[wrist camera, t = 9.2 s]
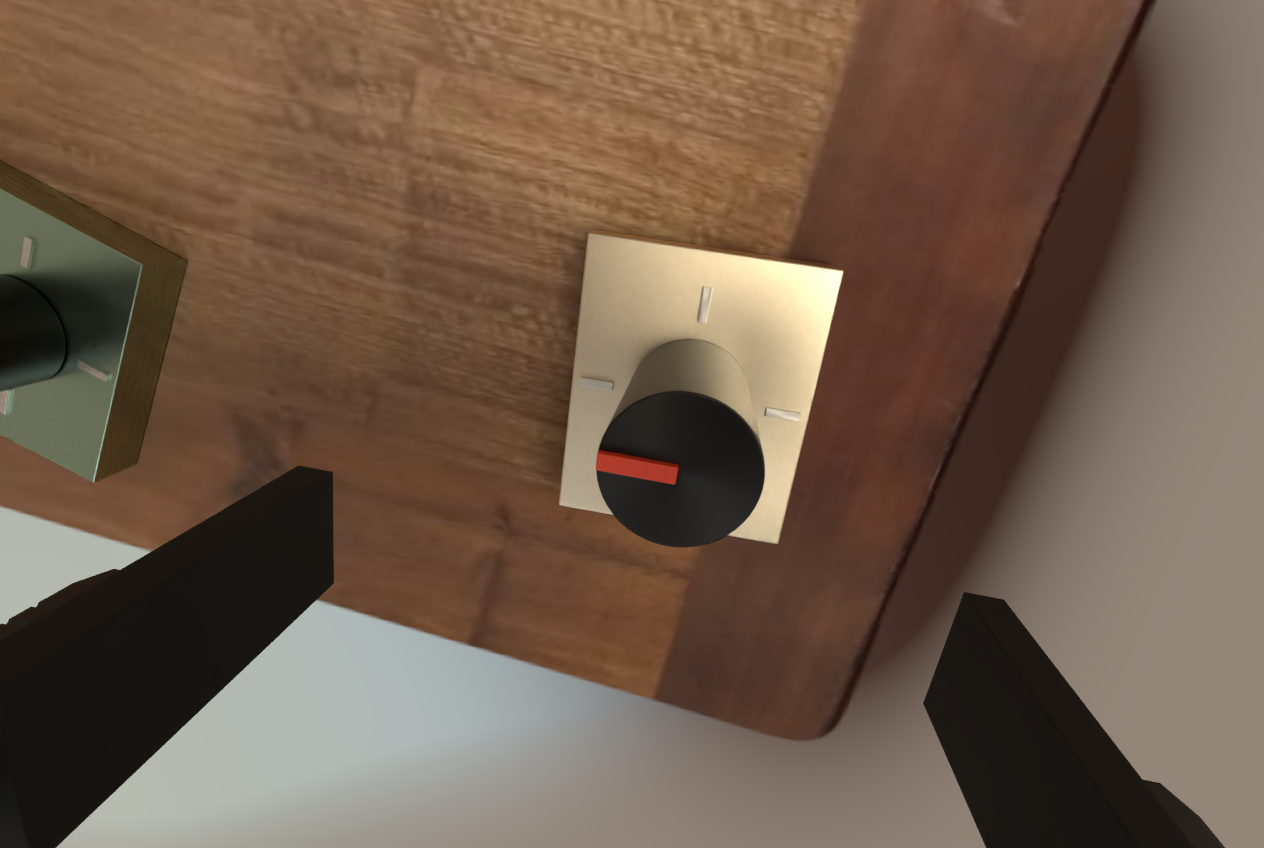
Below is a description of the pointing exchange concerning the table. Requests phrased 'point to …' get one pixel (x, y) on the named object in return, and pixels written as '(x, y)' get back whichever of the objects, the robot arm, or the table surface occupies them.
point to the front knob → (683, 447)
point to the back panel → (86, 327)
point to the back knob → (27, 336)
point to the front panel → (708, 311)
